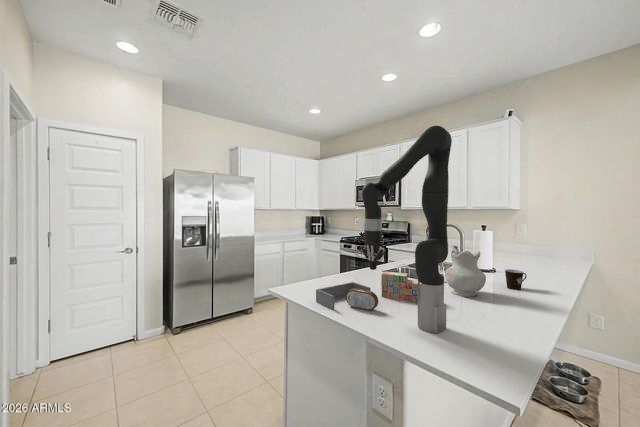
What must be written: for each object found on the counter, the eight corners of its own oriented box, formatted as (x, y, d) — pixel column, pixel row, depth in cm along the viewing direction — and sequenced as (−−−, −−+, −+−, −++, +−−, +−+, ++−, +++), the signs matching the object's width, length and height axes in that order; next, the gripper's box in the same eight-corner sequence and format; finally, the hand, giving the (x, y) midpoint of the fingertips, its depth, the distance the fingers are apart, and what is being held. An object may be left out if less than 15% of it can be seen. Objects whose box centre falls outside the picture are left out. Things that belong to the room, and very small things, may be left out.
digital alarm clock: (378, 310, 120) (378, 291, 120) (376, 312, 118) (376, 293, 118) (347, 304, 128) (347, 286, 128) (344, 306, 125) (345, 288, 125)
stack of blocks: (426, 300, 135) (427, 275, 135) (425, 303, 129) (425, 278, 129) (384, 293, 144) (384, 270, 144) (381, 297, 139) (381, 273, 139)
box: (370, 299, 135) (370, 287, 135) (332, 309, 121) (332, 296, 121) (352, 293, 145) (352, 281, 145) (316, 301, 131) (316, 289, 131)
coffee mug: (508, 290, 151) (508, 272, 151) (502, 285, 160) (502, 269, 159) (532, 291, 148) (532, 273, 148) (525, 287, 156) (525, 270, 156)
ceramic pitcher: (434, 290, 154) (432, 247, 153) (462, 285, 160) (459, 243, 159) (465, 303, 133) (463, 253, 132) (495, 296, 139) (493, 248, 138)
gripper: (391, 229, 113) (390, 271, 114) (368, 228, 124) (368, 265, 125) (378, 230, 109) (378, 273, 109) (356, 228, 120) (356, 267, 120)
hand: (372, 269), depth 117 cm, fingers closed
